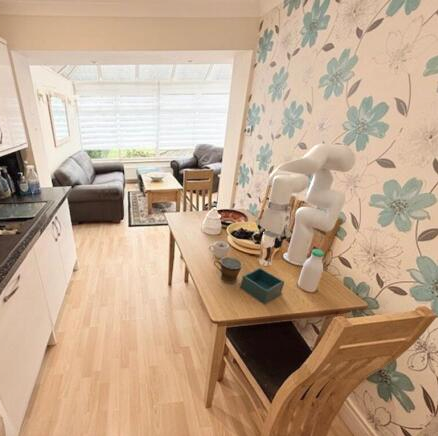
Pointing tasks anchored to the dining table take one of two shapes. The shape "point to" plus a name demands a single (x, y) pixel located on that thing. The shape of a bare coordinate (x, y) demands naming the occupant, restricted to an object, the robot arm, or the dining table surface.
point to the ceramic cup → (229, 269)
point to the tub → (262, 285)
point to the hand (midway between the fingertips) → (269, 243)
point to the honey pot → (212, 222)
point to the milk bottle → (311, 271)
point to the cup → (219, 249)
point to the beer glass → (267, 248)
